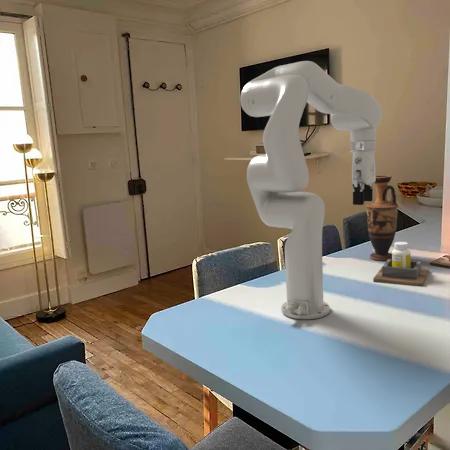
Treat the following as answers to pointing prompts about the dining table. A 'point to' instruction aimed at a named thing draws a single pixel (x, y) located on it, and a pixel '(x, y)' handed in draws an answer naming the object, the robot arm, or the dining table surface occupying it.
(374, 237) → the vase
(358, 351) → the dining table surface
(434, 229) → the dining table surface
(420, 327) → the dining table surface
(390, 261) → the holder
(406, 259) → the supplement bottle
